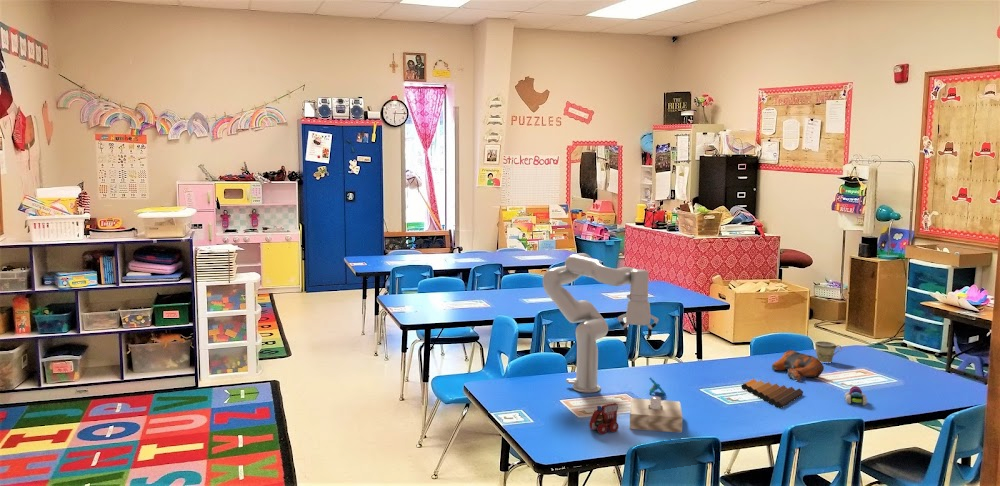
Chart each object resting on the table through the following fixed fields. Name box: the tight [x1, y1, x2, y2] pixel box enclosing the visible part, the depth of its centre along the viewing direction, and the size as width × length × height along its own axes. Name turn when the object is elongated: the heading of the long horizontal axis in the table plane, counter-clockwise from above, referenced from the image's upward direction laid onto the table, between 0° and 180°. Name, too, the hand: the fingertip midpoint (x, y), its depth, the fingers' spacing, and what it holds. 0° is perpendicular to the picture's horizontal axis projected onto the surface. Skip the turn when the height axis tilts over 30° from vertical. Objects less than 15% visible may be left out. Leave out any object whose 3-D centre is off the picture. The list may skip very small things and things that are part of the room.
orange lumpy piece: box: [771, 349, 825, 382], centre depth 382 cm, size 25×13×17 cm
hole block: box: [629, 397, 683, 433], centre depth 309 cm, size 20×20×6 cm
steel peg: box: [650, 395, 662, 410], centre depth 309 cm, size 4×4×10 cm
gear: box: [648, 376, 667, 396], centre depth 346 cm, size 11×6×10 cm
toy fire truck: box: [588, 402, 619, 435], centre depth 299 cm, size 7×12×10 cm, turn 117°
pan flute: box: [741, 378, 804, 409], centre depth 346 cm, size 25×3×25 cm
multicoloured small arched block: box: [844, 385, 868, 406], centre depth 337 cm, size 8×10×7 cm
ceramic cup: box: [814, 340, 842, 363], centre depth 404 cm, size 13×10×10 cm
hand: (637, 337), depth 333 cm, fingers open, 9 cm apart
